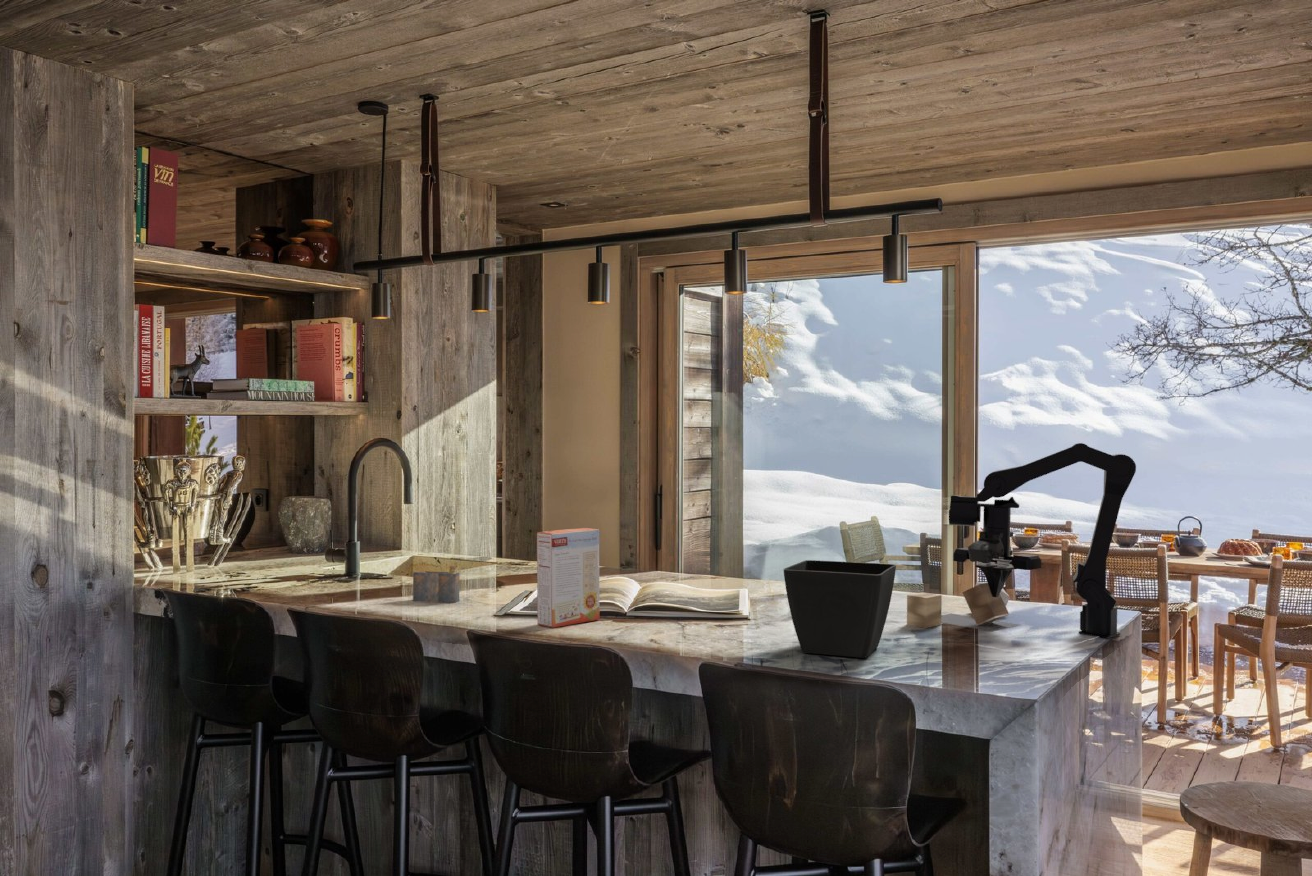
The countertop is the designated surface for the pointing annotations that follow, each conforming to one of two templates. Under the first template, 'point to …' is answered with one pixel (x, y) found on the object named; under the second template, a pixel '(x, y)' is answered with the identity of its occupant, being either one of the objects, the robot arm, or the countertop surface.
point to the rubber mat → (970, 622)
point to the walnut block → (984, 604)
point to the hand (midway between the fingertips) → (995, 597)
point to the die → (1003, 594)
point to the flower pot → (839, 605)
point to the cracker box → (567, 576)
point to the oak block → (924, 609)
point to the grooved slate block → (436, 586)
